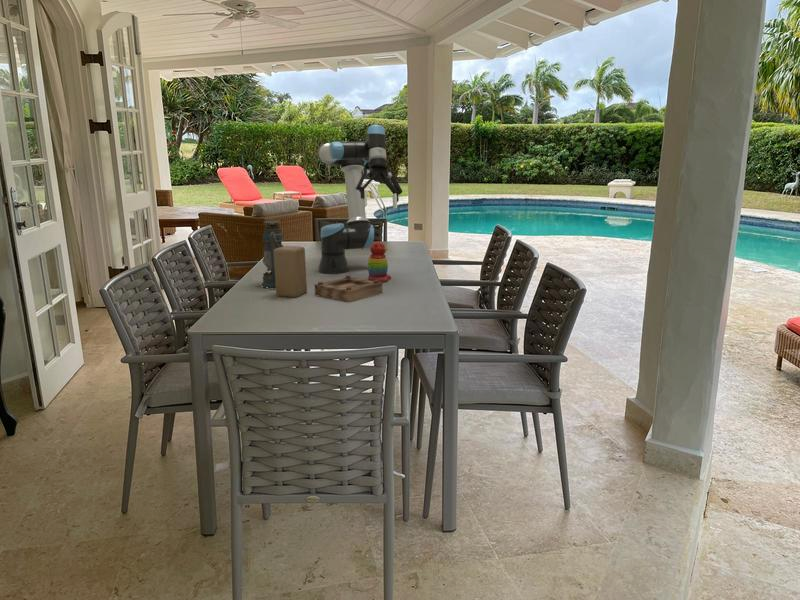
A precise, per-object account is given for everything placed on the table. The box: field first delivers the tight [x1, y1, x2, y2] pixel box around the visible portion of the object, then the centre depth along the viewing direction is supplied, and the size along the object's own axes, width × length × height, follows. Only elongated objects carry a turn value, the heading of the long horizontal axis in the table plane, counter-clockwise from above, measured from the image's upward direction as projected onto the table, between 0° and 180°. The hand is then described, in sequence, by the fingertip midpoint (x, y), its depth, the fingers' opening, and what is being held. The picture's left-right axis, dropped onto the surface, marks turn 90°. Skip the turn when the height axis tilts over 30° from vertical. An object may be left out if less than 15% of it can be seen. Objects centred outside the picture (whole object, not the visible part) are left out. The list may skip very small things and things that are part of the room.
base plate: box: [314, 274, 383, 303], centre depth 253 cm, size 20×20×6 cm
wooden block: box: [273, 245, 308, 298], centre depth 252 cm, size 10×10×20 cm
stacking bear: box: [367, 241, 392, 283], centre depth 279 cm, size 11×10×18 cm
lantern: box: [261, 218, 285, 289], centre depth 268 cm, size 19×14×30 cm
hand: (380, 207), depth 253 cm, fingers open, 13 cm apart
